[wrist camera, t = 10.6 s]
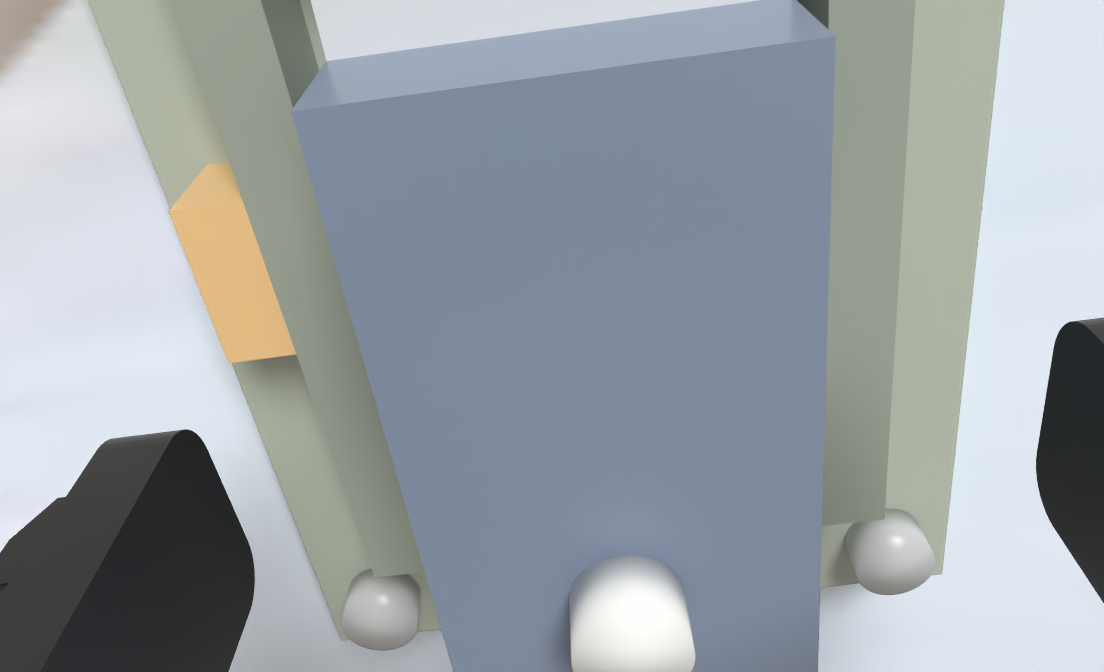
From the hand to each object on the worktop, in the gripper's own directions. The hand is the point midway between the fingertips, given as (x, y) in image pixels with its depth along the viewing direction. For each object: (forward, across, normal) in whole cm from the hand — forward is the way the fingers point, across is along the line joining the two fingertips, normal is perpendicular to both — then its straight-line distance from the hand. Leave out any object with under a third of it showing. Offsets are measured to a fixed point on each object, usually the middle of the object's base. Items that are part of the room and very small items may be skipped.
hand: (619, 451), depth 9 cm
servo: (+6, 0, 0) cm, 6 cm away
